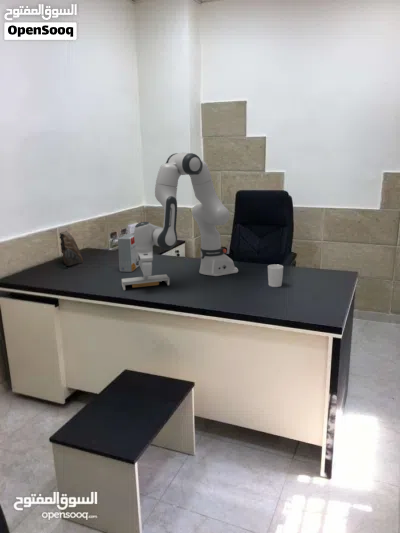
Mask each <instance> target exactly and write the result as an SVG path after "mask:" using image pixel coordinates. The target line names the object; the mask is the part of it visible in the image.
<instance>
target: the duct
mask: <svg viewBox="0 0 400 533" xmlns="http://www.w3.org/2000/svg"><path fill="white" fill-rule="evenodd" d="M161 282H162V281H159V283H161ZM164 283H165V284H166V285H167V286H170V280H168V281H164ZM121 286H122V290H123V291H126V287H127V285H123V283H122V282H121ZM129 286H132V284H130V285H129Z"/></svg>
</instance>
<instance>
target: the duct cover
mask: <svg viewBox="0 0 400 533" xmlns="http://www.w3.org/2000/svg"><path fill="white" fill-rule="evenodd" d="M168 280H169V281H170V277H169V276H168V275H167V274H166V273H165V274H155V275H151V276H148V279H147V280H144V276H137V277H126V278H121V284H122V283H123V285H126V286H131V285H130V284H139V283H149V282H158V281H164V282H165V281H168Z"/></svg>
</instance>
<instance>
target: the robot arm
mask: <svg viewBox="0 0 400 533" xmlns="http://www.w3.org/2000/svg"><path fill="white" fill-rule="evenodd" d="M186 175H188V177H190V181H191V186H192V188H193V190H192V191H193V192H194V196H195V198H196V199H197V201H198V202H200V203H198V204H195V205H194V207H192V211H191V214H192V218H193V220H195V222H196V223H197V226H198V230H199V232H200V233H199V234H200V239H201V240H200V246H201V247H200V267H199V270H198V272H199V274H201V275H205V276H206V275H207V276H213V277H219V276H223V275H224V276H225V275H230V274H237V273H238V272H239V269H238V267H236V266H235V264H234V261H233V259H232V258H231V257H229V256H228V255H227V254H226V253H227V249H226V248H223V247H222V243H221V242H222V241H221V239H222V238H221V233H220V232H219V230H218V229H217V227H216V226H223V225H226V224H227V223H229V222H228V221H229V220H230V214H231V213H230V210H229V209H228V208H227V207H226V206H225V205H224V204H223V203H222V201H221V200H220V198H219V196H218V194H217V193H216V190H215V187H214V186H215V185H214V183H213V182H214V181H213V179H212V175H211V172H210V169H209V166H208V164H207V163H206V161H204V160H202V159H201V158H200V157H199V156H198V155H197V154H196V153H193V152H180V153H177V152H176V153H172V154H170V155H169V157H168V158H167V159H166V162H165V163H163V164H162V165H160V166H159V170H158V173H157V177H156V180H155V186H154V197H155V198H156V200H157V202H159V204H160V205H161V206H162V208H163V213H164V215H163V227H162V226H158V225H155V224H153V223H150V222H149V221H141V222H138V223H136V224H135V226H134V232H133V234H134V240H135V244H136V246H135V254H136V258H137V259H138V261H139V265H140V266H139V268H140V270H141V272H142V275H143V277H144V280H147V279H148V276H153V274H152V273H153V261H154V251H153V250H154V249H153V247H154V246H157V247H159V248H161V249H163V250H165V251H166V250H168V251H169V250H171V249H173V248H174V247H175V246H176V244H177V242H178V233H177V216H178V200H177V191H178V186H179V185H178V184H179V179H180V177H181V176H186Z"/></svg>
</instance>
